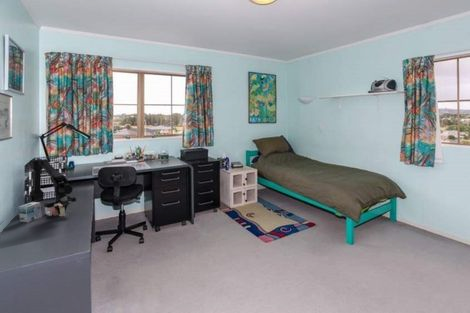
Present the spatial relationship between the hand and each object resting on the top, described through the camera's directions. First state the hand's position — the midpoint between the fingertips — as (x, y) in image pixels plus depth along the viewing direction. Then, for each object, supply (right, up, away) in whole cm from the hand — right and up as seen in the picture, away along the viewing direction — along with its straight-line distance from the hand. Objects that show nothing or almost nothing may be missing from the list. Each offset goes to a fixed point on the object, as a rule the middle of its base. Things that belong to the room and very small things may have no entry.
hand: (61, 213), depth 190 cm
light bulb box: (-17, -3, -6) cm, 18 cm away
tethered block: (-3, -1, +3) cm, 4 cm away
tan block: (-8, -1, +6) cm, 10 cm away
